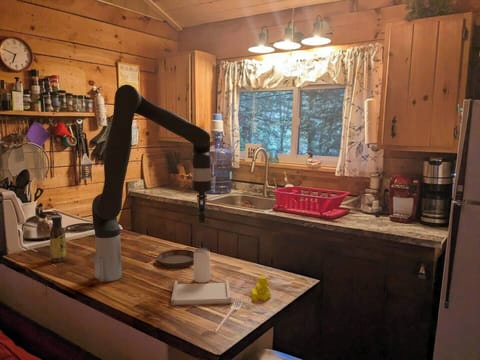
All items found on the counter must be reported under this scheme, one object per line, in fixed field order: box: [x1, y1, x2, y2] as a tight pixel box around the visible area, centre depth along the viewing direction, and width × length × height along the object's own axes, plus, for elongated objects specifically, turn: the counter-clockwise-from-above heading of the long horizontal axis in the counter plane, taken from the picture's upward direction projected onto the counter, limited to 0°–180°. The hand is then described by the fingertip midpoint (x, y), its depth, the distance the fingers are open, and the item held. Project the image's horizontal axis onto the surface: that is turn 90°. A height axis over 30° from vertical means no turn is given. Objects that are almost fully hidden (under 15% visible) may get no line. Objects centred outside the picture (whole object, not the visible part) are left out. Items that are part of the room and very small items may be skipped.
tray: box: [170, 279, 232, 306], centre depth 137 cm, size 16×20×2 cm
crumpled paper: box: [250, 274, 272, 302], centre depth 135 cm, size 6×8×8 cm
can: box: [193, 247, 211, 284], centre depth 149 cm, size 6×6×12 cm
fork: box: [214, 297, 244, 332], centre depth 121 cm, size 3×20×2 cm, turn 159°
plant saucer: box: [156, 248, 195, 268], centre depth 170 cm, size 18×18×3 cm
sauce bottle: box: [49, 215, 67, 263], centre depth 169 cm, size 6×6×20 cm
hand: (202, 220), depth 157 cm, fingers open, 3 cm apart
